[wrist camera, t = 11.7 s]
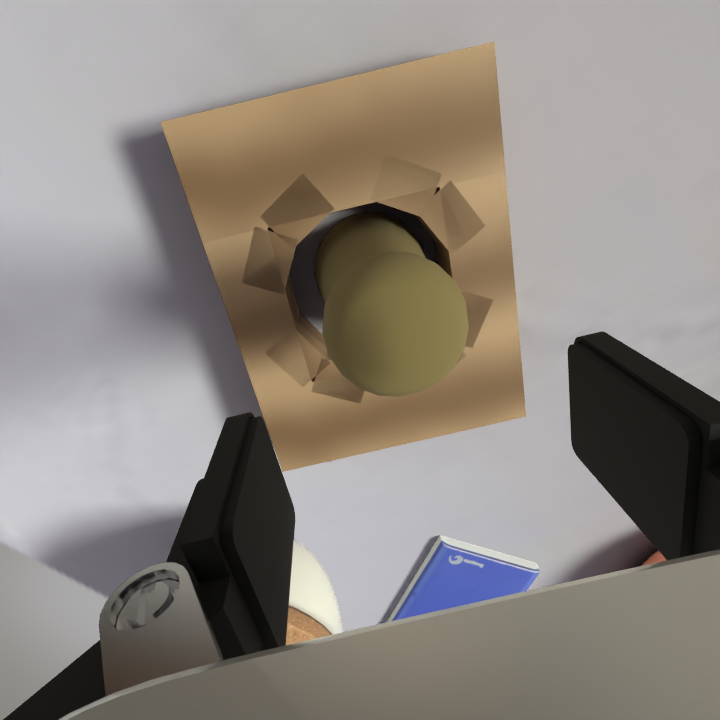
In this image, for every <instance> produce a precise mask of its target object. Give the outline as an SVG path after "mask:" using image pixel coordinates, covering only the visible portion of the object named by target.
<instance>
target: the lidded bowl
mask: <svg viewBox="0 0 720 720" xmlns="http://www.w3.org/2000/svg"><path fill="white" fill-rule="evenodd" d="M342 632H343V629H342V621H341V616H340V611H339V605H338V602H337V599H336V595H335V592H334V589H333V587H332V584H331V581H330V579H329V577H328V575H327V574H326V572H325V570H324V569H323V567H322V565H321V564H320V562H319V561H318V560H317V559H316V558H315V557H314V556H313V554H312V553H311V552H310V551H309V550H308V549H307V548H306V547H304V546H303V545H302V544H301V543H299V542H298V541H296V540H294V542H293V555H292V568H291V582H290V595H289V608H288V622H287V635H286V645H289V644H294V643H298V642H303V641H307V640H311V639H316V638H320V637H325V636H329V635H333V634H338V633H342Z"/></svg>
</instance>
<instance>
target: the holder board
mask: <svg viewBox="0 0 720 720" xmlns="http://www.w3.org/2000/svg"><path fill="white" fill-rule="evenodd" d="M161 125H162V128H163V131H164V134H165V137H166V139H167V142H168V145H169V148H170V151H171V154H172V157H173V159H174V162H175V165H176V168H177V171H178V174H179V177H180V180H181V182H182V185H183V188H184V191H185V194H186V197H187V200H188V202H189V205H190V208H191V211H192V214H193V217H194V220H195V222H196V225H197V228H198V231H199V234H200V237H201V240H202V242H203V245H204V248H205V251H206V254H207V257H208V260H209V263H210V265H211V268H212V271H213V274H214V277H215V280H216V283H217V285H218V288H219V291H220V294H221V297H222V300H223V303H224V305H225V308H226V311H227V314H228V317H229V320H230V323H231V326H232V328H233V331H234V334H235V337H236V340H237V343H238V346H239V348H240V351H241V354H242V357H243V360H244V363H245V366H246V368H247V371H248V374H249V377H250V380H251V383H252V386H253V388H254V391H255V394H256V397H257V400H258V403H259V406H260V409H261V411H262V414H263V417H264V420H265V423H266V426H267V429H268V431H269V434H270V437H271V440H272V443H273V446H274V449H275V451H276V454H277V457H278V460H279V463H280V466H281V469H282V472H283V471H288V470H292V469H297V468H301V467H305V466H310V465H314V464H319V463H323V462H327V461H332V460H336V459H341V458H345V457H349V456H354V455H358V454H363V453H367V452H371V451H376V450H380V449H385V448H389V447H393V446H398V445H402V444H407V443H411V442H415V441H420V440H424V439H429V438H433V437H437V436H442V435H446V434H451V433H455V432H459V431H464V430H468V429H473V428H477V427H481V426H486V425H490V424H495V423H499V422H503V421H508V420H512V419H517V418H521V417H525V416H526V411H525V399H524V387H523V375H522V363H521V352H520V340H519V328H518V316H517V304H516V293H515V281H514V269H513V257H512V246H511V234H510V222H509V210H508V198H507V187H506V175H505V163H504V151H503V140H502V128H501V116H500V104H499V92H498V81H497V69H496V57H495V45H494V42H490V43H486V44H482V45H478V46H474V47H470V48H466V49H461V50H457V51H453V52H449V53H445V54H441V55H437V56H432V57H428V58H424V59H420V60H416V61H412V62H408V63H403V64H399V65H395V66H391V67H387V68H383V69H379V70H374V71H370V72H366V73H362V74H358V75H354V76H349V77H345V78H341V79H337V80H333V81H329V82H325V83H320V84H316V85H312V86H308V87H304V88H300V89H296V90H291V91H287V92H283V93H279V94H275V95H271V96H267V97H262V98H258V99H254V100H250V101H246V102H242V103H238V104H233V105H229V106H225V107H221V108H217V109H213V110H209V111H204V112H200V113H196V114H192V115H188V116H184V117H180V118H175V119H171V120H167V121H163V122H161ZM373 202H378V203H381V204H384V205H387V206H390V207H393V208H396V209H399V210H402V211H405V212H408V213H411V214H413V215H414V217H415V218H416V219H417V220H418V221H419V223H420V224H421V225H422V226H423V227H424V229H425V230H426V231H427V232H428V234H429V235H430V236H431V237H432V238H433V240H434V241H435V246H436V253H437V259H438V265H439V266H440V267H441V268H442V269H443V270H444V271H445V272H446V273H447V274H448V275H449V276H450V277H451V278H453V279H454V280H455V281H456V283H457V285H458V287H459V289H460V291H461V293H462V295H463V297H464V299H465V301H466V309H467V317H468V325H469V330H468V335H467V340H466V344H465V349H464V351H463V352H462V354H461V356H460V358H459V360H458V361H457V363H456V365H455V367H454V368H453V369H452V370H451V371H450V372H449V373H448V374H447V375H446V376H445V377H444V378H443V379H442V380H441V381H440V382H438V383H436V384H435V385H433V386H431V387H429V388H427V389H425V390H423V391H422V392H419V393H415V394H410V395H406V396H401V397H393V396H378V395H376V394H373V393H370V392H367V391H365V390H362V389H359V388H358V387H357V386H355V385H354V384H353V383H351V382H350V381H349V380H348V379H346V378H345V377H344V376H343V375H342V374H341V373H340V372H339V370H338V369H337V367H336V366H335V364H334V363H333V361H332V360H331V358H330V357H329V355H328V353H327V349H326V345H325V341H324V337H323V335H322V334H321V333H320V332H319V331H318V330H317V329H316V328H315V327H314V326H313V325H312V324H311V323H310V322H309V321H308V320H307V319H306V318H305V317H304V316H302V315H301V314H300V313H299V309H298V306H297V302H296V298H295V295H294V291H293V288H292V284H291V281H290V277H289V273H290V269H291V265H292V262H293V258H294V254H295V250H296V246H297V245H298V244H299V243H300V242H301V241H302V240H303V239H304V238H305V237H306V236H307V235H308V234H309V233H310V232H311V231H312V230H313V229H314V228H315V227H316V226H317V225H318V224H319V223H320V222H321V221H322V220H323V219H324V218H325V217H326V216H327V215H328V214H329V213H331V212H335V211H340V210H344V209H348V208H352V207H357V206H361V205H365V204H369V203H373Z"/></svg>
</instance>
